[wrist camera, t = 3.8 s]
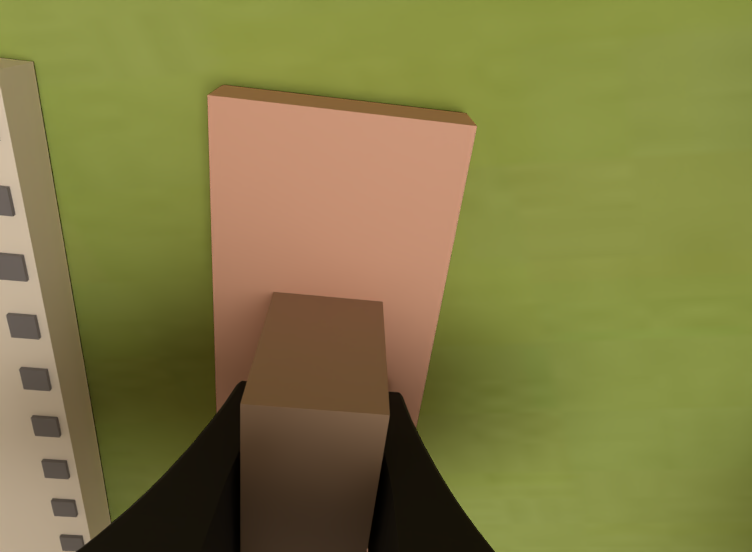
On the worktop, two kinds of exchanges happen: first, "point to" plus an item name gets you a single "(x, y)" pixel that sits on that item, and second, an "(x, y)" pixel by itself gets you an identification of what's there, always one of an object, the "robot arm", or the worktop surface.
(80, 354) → the cream notepad
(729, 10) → the worktop surface
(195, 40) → the worktop surface
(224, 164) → the pink block with handle
